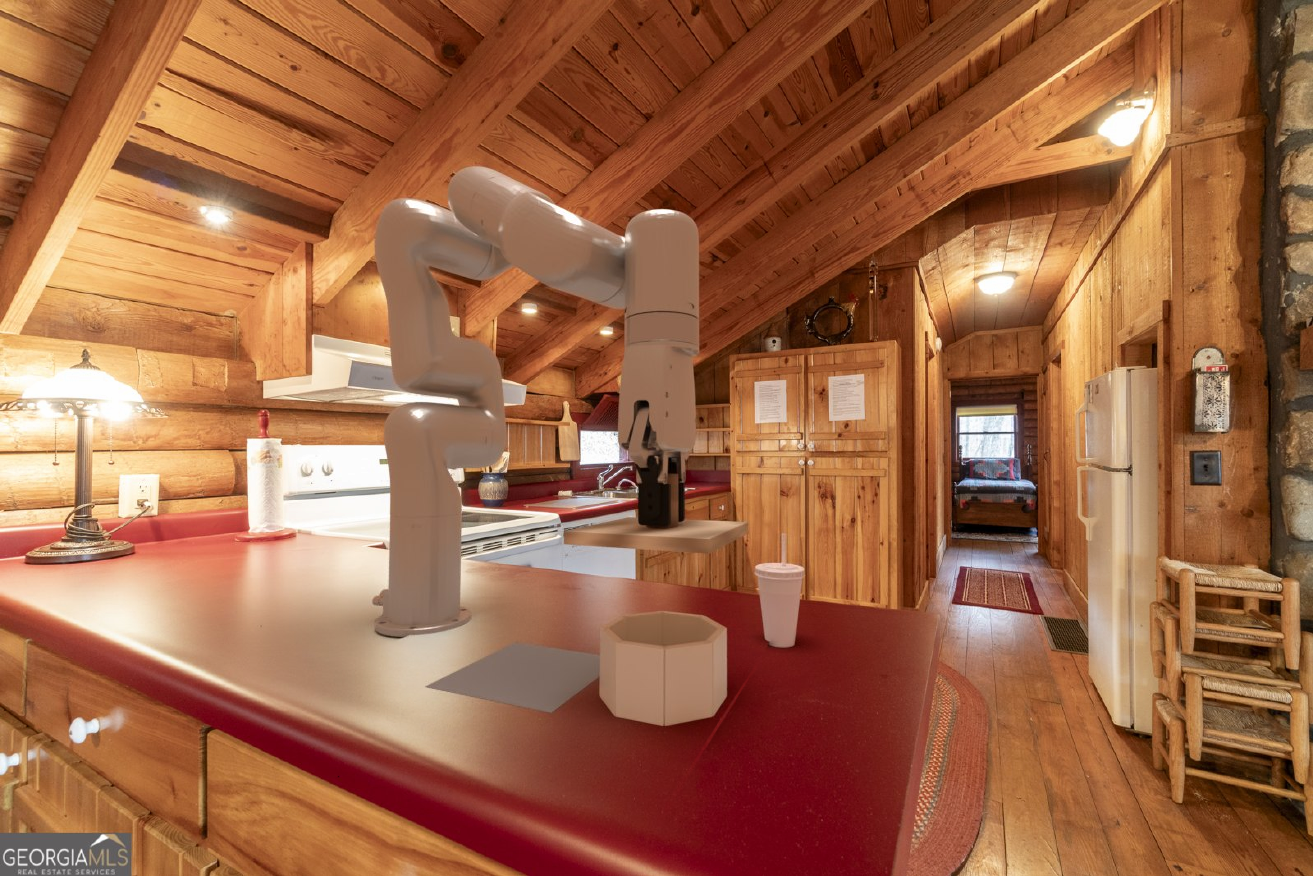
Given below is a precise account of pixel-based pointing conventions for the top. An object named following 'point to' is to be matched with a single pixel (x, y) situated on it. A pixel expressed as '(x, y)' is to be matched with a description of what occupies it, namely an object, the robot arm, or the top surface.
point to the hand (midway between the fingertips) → (662, 521)
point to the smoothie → (780, 599)
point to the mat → (525, 676)
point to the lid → (660, 532)
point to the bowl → (663, 667)
